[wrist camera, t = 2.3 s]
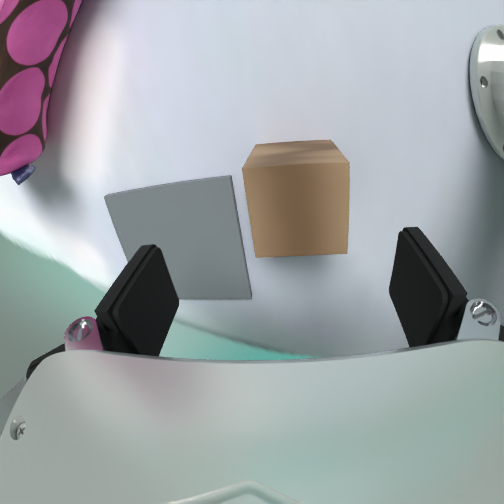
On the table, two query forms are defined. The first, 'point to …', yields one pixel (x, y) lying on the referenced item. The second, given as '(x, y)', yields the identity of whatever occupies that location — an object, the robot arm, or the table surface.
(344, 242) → the walnut block
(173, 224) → the felt pad
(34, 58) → the pencil case
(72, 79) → the table surface
